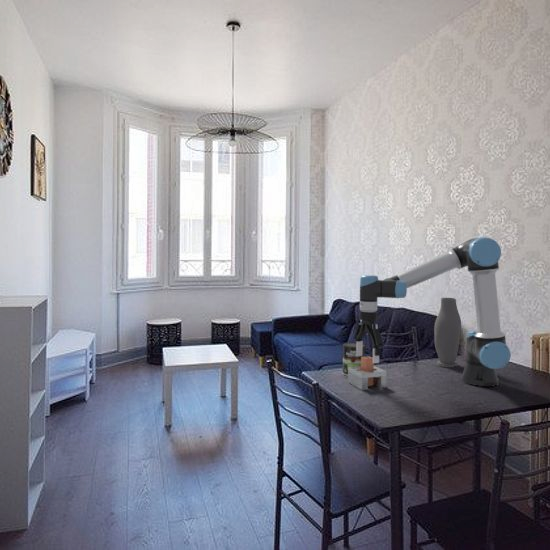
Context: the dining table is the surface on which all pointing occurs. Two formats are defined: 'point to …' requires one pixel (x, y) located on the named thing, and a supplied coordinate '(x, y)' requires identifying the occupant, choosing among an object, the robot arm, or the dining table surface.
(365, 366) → the orange rectangular block
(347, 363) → the coffee can
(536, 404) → the dining table surface
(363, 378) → the square tube ring
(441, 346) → the vase
